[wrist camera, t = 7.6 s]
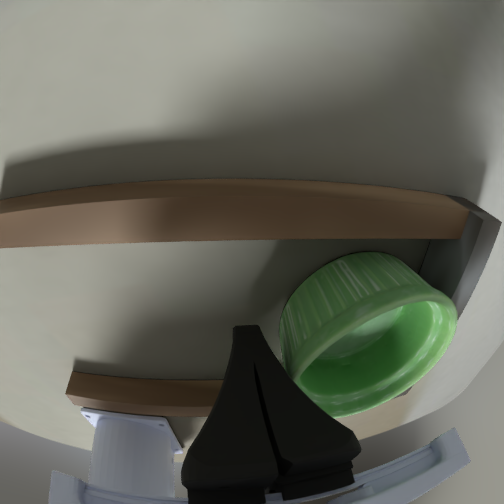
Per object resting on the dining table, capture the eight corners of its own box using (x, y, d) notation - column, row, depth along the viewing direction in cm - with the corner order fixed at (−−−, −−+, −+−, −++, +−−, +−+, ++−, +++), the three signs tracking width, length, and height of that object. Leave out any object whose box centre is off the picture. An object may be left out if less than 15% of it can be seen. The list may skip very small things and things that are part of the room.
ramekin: (437, 249, 13) (485, 295, 9) (374, 357, 17) (398, 405, 14) (295, 225, 11) (335, 292, 7) (253, 363, 16) (263, 427, 12)
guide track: (391, 365, 19) (406, 394, 16) (80, 383, 15) (71, 416, 13) (464, 198, 12) (501, 222, 9) (-2, 200, 8) (-39, 229, 6)
